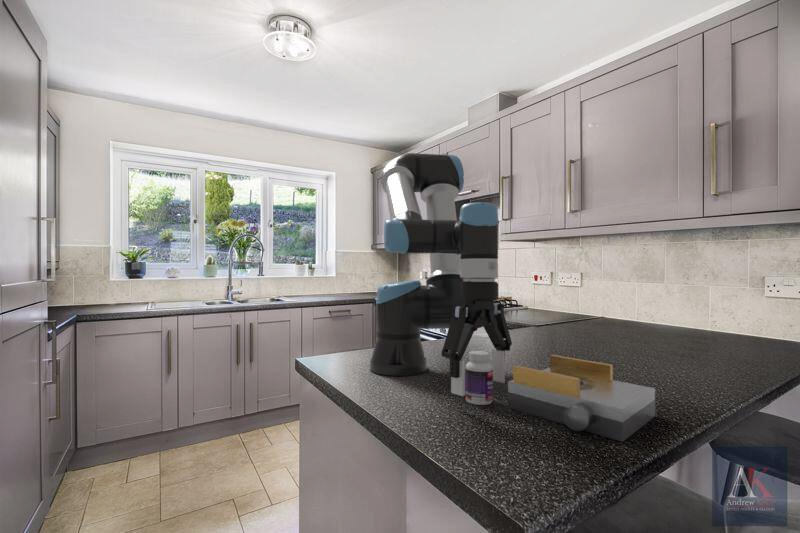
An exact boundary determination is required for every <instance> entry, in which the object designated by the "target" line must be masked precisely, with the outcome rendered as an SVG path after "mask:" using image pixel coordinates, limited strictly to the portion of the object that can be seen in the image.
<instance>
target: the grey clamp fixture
mask: <svg viewBox="0 0 800 533" xmlns="http://www.w3.org/2000/svg"><path fill="white" fill-rule="evenodd" d="M549 356H550V363H549V364H550V367H547V368H544V369H542V370H541V369H538V368H537V369H536V368H532V367H526V366H522V365H517V364H516V365H514V366H512V372H513V373H512V379H511V380H509V381H507V408H508V409H512V410H514V411H517V412H521V413H525V414H527V415H531V416H534V417H539V418H541V419H544V420H548V421H552V422H555V423H558V424H561V425H564V426H567V427H568V428H569V429H571V430H573V432H581V431H584V432H589V433H591V434H595V435H599V436H602V437H605V438H608V439H611V440H615V441H619V442H621V443H624V442H625V441H626V440H627V439H628V438H630V437H631V436H632V435H634V434H635V433H636V432H638V430H640V429H641V428H642V427H644V426H645V425H646V424H648V423H649V422H650V421H651V420H652V419H654V418H655V417H656V388H655V387H649V386H645V385H640V384H634V383H630V382H624V381H620V380H614V378H613V376H614V371H613V370H614V369H613V368H614V367H613V366H614V365H613V364H611V363H605V362H597V361H592V360H587V359H586V360H585V359H581V358H580V359H579V358H574V357H569V356H568V357H567V356H563V355H558V354H551V355H549Z"/></svg>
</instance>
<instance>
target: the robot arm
mask: <svg viewBox="0 0 800 533" xmlns="http://www.w3.org/2000/svg"><path fill="white" fill-rule="evenodd" d="M464 176H465V172H464V167H463V163H462V161H461V159H460V157H458V156H456V155H453V154H447V153H442V154H436V153H435V154H434V153H414V152H407V153H403V154H400V155H397V156H395V157H394V158H393V159H391V160H390V161H389V162H388V163H387V164H386V165H385V167H384V168H383V170H382V172H381V176H380V183H381V187H382V189H383V191H384V193H385V194H386V200H387V206H388V211H389V219H386V220H385V222H384V225H383V227H384V228H383V241H384V242H383V243H384V244H383V245H384V250H385V251H386V252H388V253H392V254H398V253H399V254H402V255H405V254H429V262H430V264H429V266H430V275H429V277H427V279H426V280H425V281H426V282H425V284H426V285H425V284H424V285H423V284H422V282H421V281H420V280H418V279H416V280H415V279H414V280H406V281H405V280H404V281H396V282H390V283H384V284H381V285H380V286H378V288H377V293H376V301H375V304H376V341H375V345H374V346H373V347H374V348H373V351H372V355H371V358H370V360H369V371H371V372H373V373H374V374H379V375H383V376H384V375H385V376H395V377H396V376H397V377H398V376H399V377H401V376H413V375H419V374H422V373H425V372H426V371H427V369H428V364H427V363H428V361H427V360H428V359H427V358H426V357H425V352H424V349H423V345H422V341H421V330H424V329H425V330H430V329H434V330H436V329H438V330H439V329H444V330H445V329H447V332H446V333H447V334H446V337H445V340H444V343H443V347H442V350H441V353H440V354H441V357H443V358H445V359H448V360H449V375H450V393H451V394H452V395H453V394H454V395H457V396H460V397H464V396H466V360H464V359H463V357H464V354H465V352H466V350H467V347H468V346H469V344H470V341H471V339H472V338H473V335H474V332H476V331H477V330H478V329H480V328H484V331H485V332H486V334H487V336H488V338H489V340H490V342H491V344H492V346H493V349H491V365H492V367H493V382H496V383H497V382H498V383H501V384H504V383H506V367H505V366H506V352H509V351H510V350H511V346H512V345H513V343H512V338H511V334H510V332H509V331H510V330H509V328H508V324H507V320H506V317H505V312H504V311H505V309H504V307H505V306H504V304H503V303H498V302H494V301H497V300H498V299H499V283H498V282H497V281H495V280H496V279H499V264H498V262H499V260H498V259H499V222H500V220H499V215H498V214H499V212H498V207H497V205H496V204H495V203H492V202H480V201H477V202H468V203H464V204H462V206H461V207H460V211H459V218H458V219H457V211H456V202H455V201H456V199H457V198H458V197H459V194H460V193H461V192H462V191H463V187H464V185H465V184H464V183H465V179H464ZM416 193H420V199H421V200H422V201H423V202H424V203H425V205H426V207H425V208H426V219H423V216H422V213H421V210H420V207H419V203H418V200H417V196H416Z"/></svg>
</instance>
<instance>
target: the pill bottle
mask: <svg viewBox="0 0 800 533" xmlns="http://www.w3.org/2000/svg"><path fill="white" fill-rule="evenodd" d="M468 353H469V354H468V359H469V361H468V362H467V363H465V401H466V402H467V403H469V404H472V405H477V406H485V405H490V404H491V403H493V400H494V381H493V367H492V363H490V362H489V361H490V352H488V351H484V350H471V351H469V352H468Z"/></svg>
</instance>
